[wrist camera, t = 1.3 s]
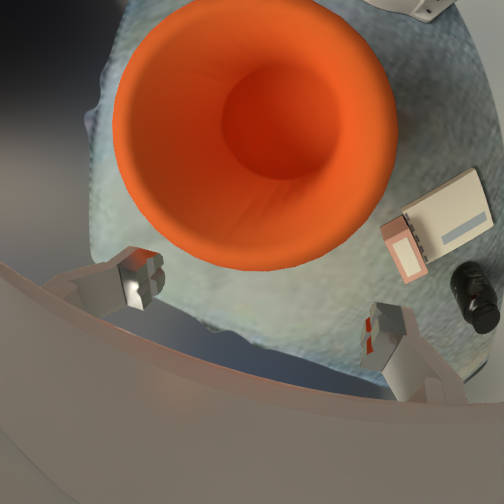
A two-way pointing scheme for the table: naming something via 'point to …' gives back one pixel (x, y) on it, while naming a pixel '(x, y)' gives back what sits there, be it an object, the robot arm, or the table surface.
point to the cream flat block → (449, 215)
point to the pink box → (403, 249)
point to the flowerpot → (255, 131)
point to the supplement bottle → (475, 297)
